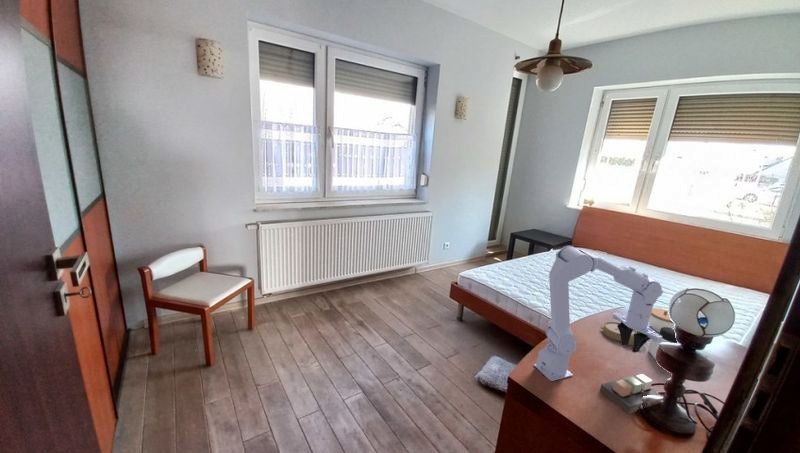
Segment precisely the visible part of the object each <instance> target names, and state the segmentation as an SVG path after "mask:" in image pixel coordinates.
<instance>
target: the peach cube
mask: <svg viewBox="0 0 800 453" xmlns="http://www.w3.org/2000/svg"><path fill="white" fill-rule="evenodd" d="M617 380H618V379H617ZM614 381H615V380H614ZM631 388H632V386H631V385H629V384H628V383H626V382H625V381H624V380H618V381H615V384H614V388H613V390H614V391H616V392H617V393H618V394H619V395H621V396H622V397H624V396H627V395H630V392H631Z"/></svg>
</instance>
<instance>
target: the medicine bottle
mask: <svg viewBox="0 0 800 453" xmlns="http://www.w3.org/2000/svg"><path fill="white" fill-rule="evenodd" d="M658 334H659V335H661V336H662V340H661V342H670V343H677V341H676V338H675V332H674V329H673V328H669V327H662V328H661V330H660V332H658ZM661 342H658V343H656V342H654V341H653V339H650V343H649V345H648V350H647V351H648V352H649V354H651V356H652V357H653V358H654V359H655V354H656V350H657V347H658V345H659V343H661Z"/></svg>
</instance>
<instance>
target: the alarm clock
mask: <svg viewBox="0 0 800 453" xmlns="http://www.w3.org/2000/svg"><path fill="white" fill-rule="evenodd" d="M620 323H621V322H618V321H606V322H604V323H603V327H602V326H601V327H600V329H601V330H603V332H602V333H604V335H605V336H607V337H608V338H610V339H612V340H614V341H618V342H621V335H620V332H619V329H618V327H617V326H618V324H620ZM636 333H639V332H638V331H636V330H634V329H633V331H632V333H631V336H630V339H629V343H628V345H627V346H633V345H634V334H636Z"/></svg>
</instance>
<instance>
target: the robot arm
mask: <svg viewBox="0 0 800 453" xmlns="http://www.w3.org/2000/svg"><path fill="white" fill-rule="evenodd" d="M596 270H599V271H601V272H603V273H605V274H608V275H610V276H612V277H613V281H615V283H617V284H619V285H622V286H624V287H626V288H628V289H630V290H632V295H631V299H630V302H629V306H628V309H627V314H626V315H625V314H624V315H623V314H621V313H619V312H613V313H612V316H611V319H613V320H616V321H617V322H618V321H619V323H620V324H618V326H617V327H618V329H619V332H620V335H621V341H620V344H621V346H623V347H626V346H629V345H628V343H629V339H630V336H631V333H632V331H633V329H634V330H636V332H637V331H638V332H639V333H636V334H634V345H632V348H631V352H632V353H635V354H636V353H639V351H640V350H641V349H642V347H643V346H644V345H645V344H647V342H648V341H649V340H651V339H653V341H654V342H656V343H658V342H661V340H662V336H661V335H659V333H658V332H657V331H655V330H654V329H653V328H652V327H650V326H649V319H650V316H651V312H652V308H654V305H655V304H656V303H657V300H658V298H660V297H661V296H662V294H663V293H664V291H663V289H662V286H661V284H660V282H658V281H656V280H654V279H652V278H650V277H649V275H647V273H646V274H645V273H641V272H638V271H637V269H636V268H634V267H632V266H631V265H630V266H626V265H625V266H624V265H623V266H620V267H618V266H617V265H615V264H613V263H611V262H609V261H607V260H605V259H603V258H601V257H600V256H597V255H595V254H593V253H592V252H588V251H587V250H584V249H581V248H576V247H575V246H573V245H565V246H563V247H562V248H561V249H560V250H559V251H557V252H556V253H555V259H554V262H553V264H552V267H551V268H550V271H549V274H548V275H549V277H548V279H549V294H550V296H549V298H550V315H551V318H550V319H551V320H548V321H547V328H546V329H545V335H546V337H547V345H546V346H545V347H543V348H542V349H540V350H539V351H538V354H537V359H536V362H535V363H534V364H533V366H534V367H535V368H537V370H539V372H540V373H541V374H542V375H544V376H545V377H546V378H547V379H548V380H549V381H551V382H553V381H557V380H561V379H565V378H570V377H573V375H574V374H573V373H572V372H571V371H569V370H568V367H569V362H570V357H571V356H572V355H573V354H574V353H575V352H576V351H577V349H578V343H577V341H576V340H575V337H574V336H575V335H574V333H573V330H572V328H571V323H570V321H571V320H570V294H569V291H570V289H569V287H570V286H569V282H570V281H571V282H572V281H573V280H575V279H578V278H579V277H582V276H584V275H586V274H588V273H589V272H591V273H592V272H593V273H594V272H595V271H596Z"/></svg>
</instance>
